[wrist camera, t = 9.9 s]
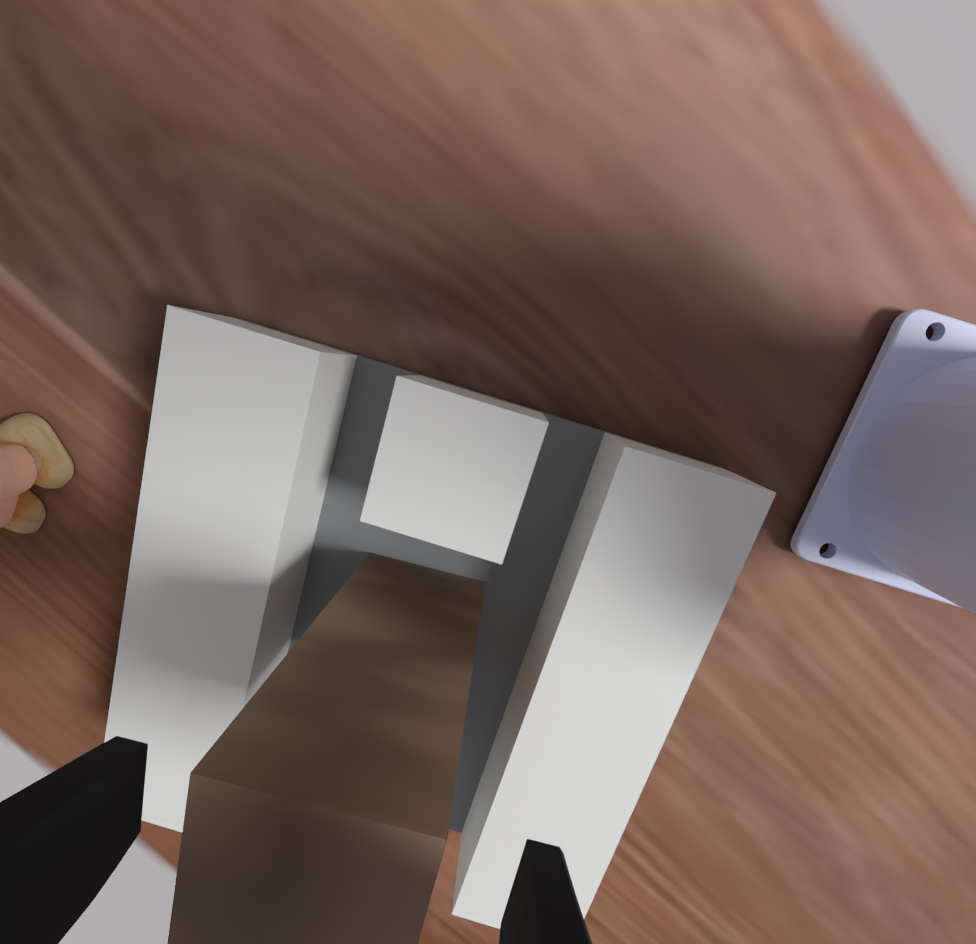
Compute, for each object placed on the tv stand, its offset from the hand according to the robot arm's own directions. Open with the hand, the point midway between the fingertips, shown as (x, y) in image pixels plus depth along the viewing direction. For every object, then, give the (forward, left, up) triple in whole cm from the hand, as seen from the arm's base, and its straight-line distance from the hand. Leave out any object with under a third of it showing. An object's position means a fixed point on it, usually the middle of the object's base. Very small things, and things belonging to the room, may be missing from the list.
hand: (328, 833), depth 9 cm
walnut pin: (0, 0, -8) cm, 8 cm away
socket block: (0, 0, -9) cm, 9 cm away
